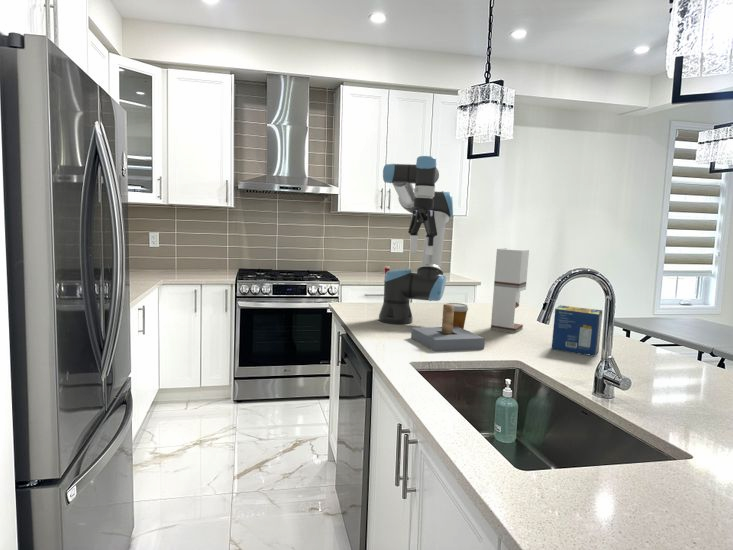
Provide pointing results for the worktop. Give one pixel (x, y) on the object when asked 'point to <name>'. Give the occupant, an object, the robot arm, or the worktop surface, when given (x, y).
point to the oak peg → (447, 319)
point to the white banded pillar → (508, 288)
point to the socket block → (447, 339)
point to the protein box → (576, 330)
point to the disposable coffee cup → (459, 314)
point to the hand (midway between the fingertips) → (420, 253)
